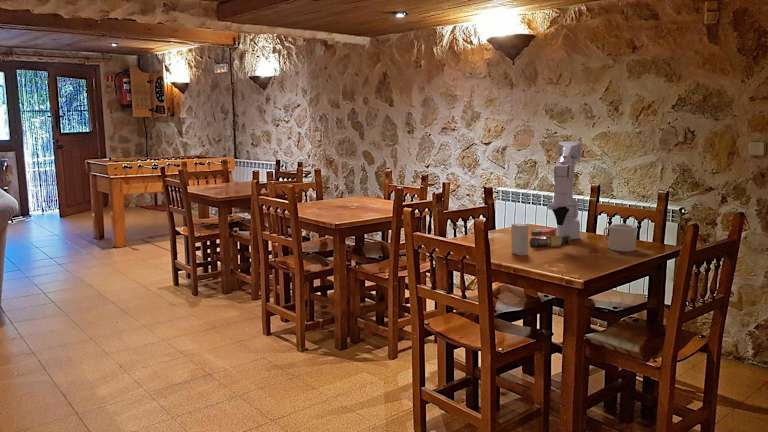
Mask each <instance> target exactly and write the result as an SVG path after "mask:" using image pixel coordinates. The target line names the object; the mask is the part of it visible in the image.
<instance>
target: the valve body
mask: <svg viewBox="0 0 768 432" xmlns="http://www.w3.org/2000/svg"><path fill="white" fill-rule="evenodd" d="M542 238H547V239H548V245H547V246H546V247H560V246H561V245H563V244H562V237H561V235H558V233H556V234H555V235H544V236H542Z"/></svg>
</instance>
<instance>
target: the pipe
mask: <svg viewBox="0 0 768 432" xmlns="http://www.w3.org/2000/svg"><path fill="white" fill-rule="evenodd" d="M561 237H562V244H561V245H571V242H572V239H571V238H570V236H569V235H568V234H564V235H563V236H561ZM547 245H548V239H547V238H543V237H534V236H531V237H530V239H529V246H530V247H532V248H534V249H535V248H539V247H548V246H547Z"/></svg>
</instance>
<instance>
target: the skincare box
mask: <svg viewBox="0 0 768 432" xmlns="http://www.w3.org/2000/svg"><path fill="white" fill-rule="evenodd" d="M511 253H512V254H515V255H517V256H528V255H529V225H528V224H527V225H526V224H523V223H511Z"/></svg>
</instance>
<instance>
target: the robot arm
mask: <svg viewBox="0 0 768 432" xmlns="http://www.w3.org/2000/svg"><path fill="white" fill-rule="evenodd" d="M582 148H583V147H582V142H581V141H580V140H579V141H559V142H558V144H557V154H558V160H557V163H556V165H554V167H553V178H554V179H553V182H554V191H553V193H554V194H553V202H552V203H551V204H547V210H551V211H552V212H553V215H554V218H555V222H556V224H557V225H556V226H557V234H558V235H561V236H563V235H564V234H568V235H569V236H570V238H571V240H578V239H581V237H580V235H581V234H580V232H581V224H580V220H578V217H579V202H578V200H576V199H575V198H574V196H573V193H574V182H575V181H574V180H575V170H576V169H575V166H576V163H577V162H579V161H581V158H582V150H583V149H582Z"/></svg>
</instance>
